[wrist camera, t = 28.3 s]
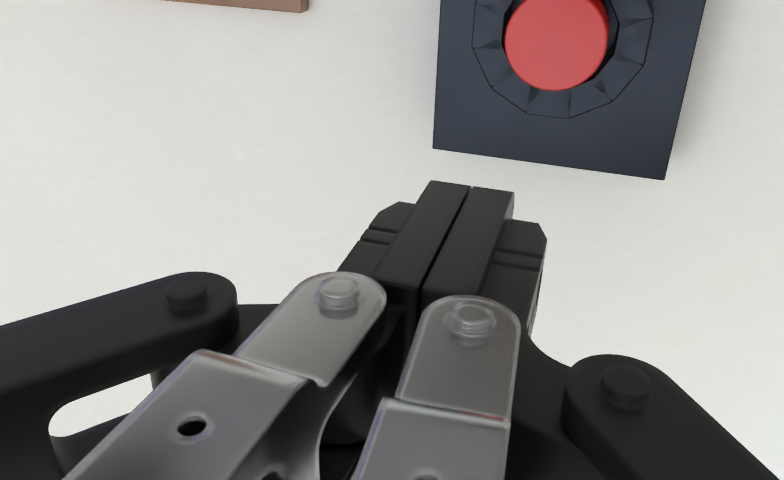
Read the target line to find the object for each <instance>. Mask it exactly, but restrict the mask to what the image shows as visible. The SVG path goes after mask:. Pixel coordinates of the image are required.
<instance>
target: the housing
mask: <svg viewBox="0 0 784 480" xmlns="http://www.w3.org/2000/svg"><path fill="white" fill-rule="evenodd" d="M522 1H523V0H441V4H440V22H439V40H438V58H437V76H436V94H435V112H434V130H433V149H440V150H447V151H454V152H462V153H469V154H476V155H483V156H491V157H498V158H505V159H512V160H520V161H527V162H534V163H541V164H549V165H556V166H563V167H570V168H578V169H585V170H592V171H599V172H607V173H614V174H621V175H628V176H636V177H643V178H650V179H657V180H664V179H665V176H666V171H667V167H668V163H669V158H670V154H671V150H672V145H673V141H674V137H675V132H676V128H677V124H678V119H679V115H680V111H681V106H682V102H683V98H684V93H685V89H686V85H687V81H688V76H689V72H690V68H691V63H692V59H693V55H694V50H695V46H696V42H697V37H698V33H699V29H700V24H701V20H702V16H703V11H704V7H705V3H706V0H600V1H601V2H602V4H603V5H604V7H605V9H606V12H607V15H608V19H609V38H608V43H607V48H606V52H605V55H604V58H603V60H602V62H601V64H600V66H599V67H598V68H597V70H596V71H595V72H594V73H593V74H592V75H591V76H590V77H589V78H588V79H587V80H586V81H584V82H583V83H581V84H579V85H577V86H575V87H573V88H570V89H566V90H560V91H548V90H542V89H539V88H536V87H534V86H531V85H529V84H528V83H526V82H525V81H523V80H522V79H521V78H520V77H519V76H518V75H517V74H516V73H515V71H514V70H513V69H512V67H511V65H510V63H509V61H508V58H507V55H506V51H505V33H506V28H507V25H508V22H509V20H510V18H511V16H512V15H513V13H514V11H515V10H516V9H517V8H518V6H519V5H520V4H521V3H522Z"/></svg>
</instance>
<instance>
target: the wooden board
mask: <svg viewBox="0 0 784 480" xmlns="http://www.w3.org/2000/svg"><path fill="white" fill-rule="evenodd" d="M167 1H177V2H188V3H199V4H209V5H220V6H231V7H241V8H252V9H263V10H273V11H284V12H294V13H303V12H305V11H307V10H308V0H167Z"/></svg>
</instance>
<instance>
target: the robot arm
mask: <svg viewBox="0 0 784 480" xmlns="http://www.w3.org/2000/svg"><path fill="white" fill-rule="evenodd" d="M513 208H514V192H508V191H502V190H495V189H488V188H482V187H475V186H473V188H471V186H467V185H461V184H454V183H447V182H440V181H434V180H431V181H430V182H429V183H428V185H427V187H426V188H425V190H424V191H423V193H422V194H421V196H420V198H419V199H418V201H417V202H416V204H411V203H405V202H397V203H395V204H393V205H391V206H389V207H388V208H386V209H384V210H382V211H380V212H379V213H378V214H377V215H376V217H375V218H374V220H373V221H372V222H371V224H370V225H369V228H368V229H366V231H365V232H364V234H363V235H362V236H361V238H360V241H358V242H357V243H356V245H355V246H354V247H353V249H352V250H351V252H350V253H349V254H348V256H347V257H346V259H345V260H344V261H343V263H342V264H341V265H340V267H339V268H338V270H337V271H336V272H327V273H322V274H318V275H315V276H312V277H310V278H307V279H305V280H304V281H302V282H301V283H299V284H298V285H297V286H296V287H295V288H294V289H293V290H292V291H291V292H290V293H289V295H288V296H287V297H286V298H285V299H284V300H283V301H282V302H281V303H280V304H243V305H238V302H237V292H236V288H235V286H234V285H233V283H232V282H231V281H229V280H228V279H226V278H225V277H223V276H220V275H218V274H213V273H208V272H185V273H179V274H175V275H171V276H167V277H164V278H160V279H157V280H154V281H150V282H147V283H143V284H140V285H137V286H133V287H130V288H127V289H123V290H120V291H116V292H113V293H110V294H106V295H103V296H100V297H96V298H93V299H89V300H86V301H83V302H79V303H76V304H73V305H69V306H66V307H62V308H59V309H56V310H52V311H49V312H45V313H42V314H39V315H35V316H32V317H29V318H25V319H22V320H18V321H15V322H12V323H8V324H5V325H2V326H0V480H779V479H778V478H777V477H776V476H775V475H774V474H773V473H772V472H771V471H770V470H769V469H768V468H766V467H765V466H764V465H763V464H762V463H761V462H760V461H759V460H758V459H757V458H756V457H755V456H754V455H752V454H751V453H750V452H749V451H748V450H747V449H746V448H745V447H744V446H743V445H742V444H741V443H740V442H738V441H737V440H736V439H735V438H734V437H733V436H732V435H731V434H730V433H729V432H728V431H727V430H726V429H724V428H723V427H722V426H721V425H720V424H719V423H718V422H717V421H716V420H715V419H714V418H713V417H712V416H711V415H709V414H708V413H707V412H706V411H705V410H704V409H703V408H702V407H701V406H700V405H699V404H698V403H697V402H695V401H694V400H693V399H692V398H691V397H690V396H689V395H688V394H687V393H686V392H685V391H684V390H683V389H681V388H680V387H679V386H678V385H677V384H676V383H675V382H674V381H673V380H672V379H671V378H670V377H668V376H667V375H666V374H665V373H663V372H662V371H661V370H659V369H657V368H656V367H654V366H652V365H650V364H648V363H646V362H643V361H641V360H638V359H635V358H631V357H627V356H621V355H612V354H604V355H595V356H590V357H587V358H584V359H582V360H580V361H578V362H577V363H576V364H574V365H573V366H572V367H569V366H566V365H564V364H562V363H560V362H558V361H556V360H554V359H552V358H551V357H549V356H547V355H546V354H545V353H543V352H542V351H541V350H540V349H539V348H538V347H537V346H536V345H535V344H534V343H533V342H532V340H531V338H530V337H531V333H532V328H533V324H534V320H535V316H536V311H537V304H538V298H539V291H540V284H541V278H542V271H543V264H544V257H545V251H546V244H547V238H546V236H545V235H544V233H543V231H542V229H541V227H540V225H539V224H538V223H532V222H526V221H520V220H513V219H512V216H513ZM149 373H150V376H151V382H152V387H153V391H152V392H151V393H150V394H149V395H148V396H147V397H146V398H145V399H144V400H143V401H142V402H141V403H140V404H139V405H138V406H137V407H136V408H135V409H134V410H133V411H132V412H130V413H128V414H125V415H122V416H120V417H117V418H115V419H112V420H109V421H107V422H104V423H102V424H99V425H96V426H94V427H91V428H89V429H86V430H83V431H81V432H78V433H75V434H73V435H70V436H66V437H54V436H51V435H49V432H48V426H49V422H50V420H51V418H52V416H53V415H54V414H55V413H56V412H57V411H58V410H59V409H60V408H61V407H62V406H64V405H66V404H67V403H69V402H72V401H74V400H77V399H80V398H82V397H85V396H88V395H91V394H93V393H96V392H99V391H102V390H105V389H107V388H110V387H113V386H116V385H118V384H121V383H124V382H127V381H129V380H132V379H135V378H138V377H141V376H143V375H146V374H149Z"/></svg>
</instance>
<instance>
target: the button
mask: <svg viewBox="0 0 784 480" xmlns="http://www.w3.org/2000/svg"><path fill="white" fill-rule="evenodd" d="M608 38H609V19H608V15H607V12H606V9H605V7H604V5H603V4H602V2H601V1H600V0H523V1H522V3H521V4H520V5H519V6H518V8H517V9H516V10H515V11H514V13H513V15H512V16H511V18H510V20H509V22H508V25H507V28H506V33H505V51H506V55H507V58H508V61H509V63H510V65H511V67H512V69H513V70H514V71H515V73H516V74H517V75H518V76H519V77H520V78H521V79H522V80H523V81H525V82H526V83H528V84H529V85H531V86H534V87H536V88H539V89H542V90H548V91H560V90H566V89H570V88H573V87H575V86H577V85H579V84H581V83H583V82H584V81H586V80H587V79H588V78H589V77H590V76H591V75H592V74H593V73H594V72H595V71H596V70H597V68H598V67H599V66H600V64H601V62H602V60H603V58H604V55H605V52H606V48H607V43H608Z"/></svg>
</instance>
